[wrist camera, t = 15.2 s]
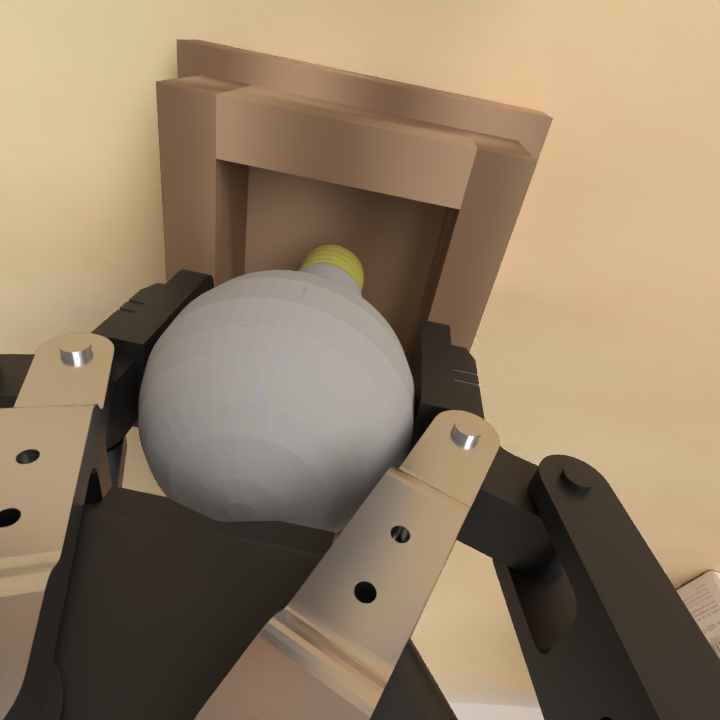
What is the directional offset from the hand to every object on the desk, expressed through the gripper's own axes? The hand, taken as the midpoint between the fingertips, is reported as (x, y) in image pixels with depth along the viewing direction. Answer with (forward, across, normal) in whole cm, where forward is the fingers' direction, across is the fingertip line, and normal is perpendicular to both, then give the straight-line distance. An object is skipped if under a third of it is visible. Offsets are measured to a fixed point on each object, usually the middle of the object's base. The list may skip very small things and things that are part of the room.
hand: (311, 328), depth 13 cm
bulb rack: (+7, 0, +5) cm, 8 cm away
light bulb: (+4, 0, 0) cm, 4 cm away
